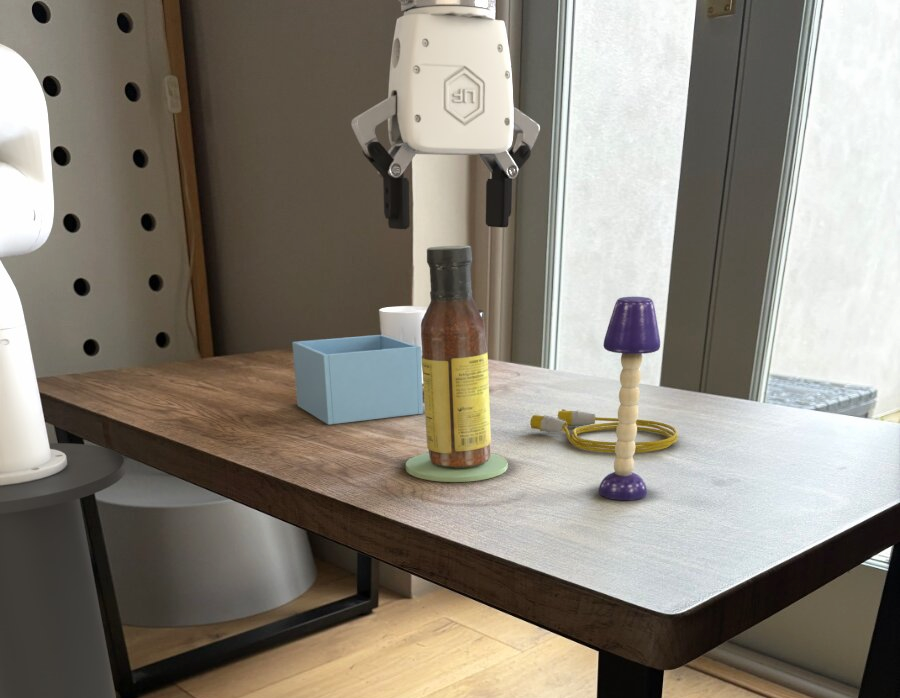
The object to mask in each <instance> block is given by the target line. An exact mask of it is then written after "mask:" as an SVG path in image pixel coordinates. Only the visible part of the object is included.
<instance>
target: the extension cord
mask: <svg viewBox="0 0 900 698" xmlns="http://www.w3.org/2000/svg"><path fill="white" fill-rule="evenodd" d="M596 421H599V422H601V421H602V422H603V421H604V422H603V423H602V422H601V423H596ZM618 423H619V420H618V417H617V418H616V417H596V413H592V412H587V411H581V410H566V409H561V410H558V412H557V417H555V416H552V415H540V414H534V415H532V416H531V417H530V429H532V430H539V431H540V432H544V433H564V432H565V435H566V437H567V439H568V441H569V443H570V444H571V445H573V446H574V447H576V448H578V449H581V450H585V451H592V452H597V453H610V454H611V453H612V454H613V453H614V454H616V453H615V445H616V442H617V441H616V442H615V441H601V440H600V441H599V440H591V439H585V438H581V437H579V436H578V435H580V434H583V433H590V432H597V431H604V430H616V429H617V425H618ZM635 423H636V425H637V431H643V432H644V431H645V432H652V433H656V434H660V435H664V436H665V437H666V438H665V439H659V440H651V441H635V453H646V452H647V453H648V452H656V451H660V450H664V449H667V448H668V447H670V446H671V445H673V444H675V443H676V442H677V441H678V439H679V438H678V437H679V436H678V435H679V433H678V432H679V431H678V429H676V428H675V427H674V426H672V425H670V424H667V423H664V422H659V421H654V420H646V419H637V420H636V422H635ZM568 427H574V428H573V429H572V432H571V434H570V432H569V429H568Z"/></svg>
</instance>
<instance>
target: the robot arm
mask: <svg viewBox="0 0 900 698" xmlns="http://www.w3.org/2000/svg"><path fill="white" fill-rule="evenodd" d="M397 1H398V2H400V11H401V12H403V15H401V16H400V17H397V18H396V23H395V28H394V34H393V40H392V47H391V55H390V63H389V77H388V93H387V95H388V96H387V98H385V99H384V100H382V101H380V102H379V103H376V104H375V105H373V106H372V107H370V108H368V109H367V110H365V111H364V112H362V113H359V114H358V115H357V116H355V117H353V118H352V120H351V123H350V125H351V128H352V131H353V133H354V135H355V137H356V140H357V141H358V143H359V145H360V146H361V149H362V155H364V157H365V158H366V159H367V161H369V163H370V164H371V165H372V166H373V167H374V168H375V170H376V172H377V174H378V177H380V178H381V179H382V182H383V183H382V184H383V186H382V187H383V214H384V217H385V219H386V220H388V221H387V222H388V223H387V224H388V228H389V229H396V230H407V229H408V228H410V225H411V224H410V223H411V222H410V181H409V179H408V177H405V175H404V172H405V171H406V169H407V167H408V166H409V165H410V163H411V162H412V160H413V159H414V157H415V156H416V155H435V156H436V155H438V156H439V155H440V156H442V155H443V156H476V155H477V156H478V155H479V157H480V158H481V160H482V162H483V163H484V164H485V166H486V167H487V169H488V170H489V172H490V173H491V178H487V179H486V183H485V225H486V226H487V227H489V228H508V227H509V222H510V217H511V215H512V203H513V202H512V201H513V179H515V178H517V177H518V174H519V171H520V169H521V168H522V167H523V166H524V165H525V164H526V162H527V161H528V160H529V159H530V157H531V153H532V152H531V150H532V149H533V148H534V145H535V143H536V141H537V139H538V136H539V134H540V132H541V126H540V124H539V123H538V122H537V121H535V120H534V119H532V118H531V117H530V116H528V115H527V114H525V113H524V112H523V111H521V110H520V109H519V108H517V107H516V106H515V105H514V98H513V97H514V95H513V94H514V93H513V75H512V67H511V66H512V63H511V55H510V47H509V41H508V33H507V28H506V25H505V24H506V23H505V21H504V20H501V19H500V20H499V19H496V0H397ZM385 121H387V132H388V133H387V134H388V140H389V144H390V146H391V147H390V148H389V150H386V148H385V147H384V146H383V145H382V144H381V142H379V139H378V136H377V133H376V128H377V127H378V126H379V125H381V124H382V123H384V122H385ZM49 124H50V123H49V115H48V106H47V102H46V98H45V94H44V91H43V88H42V86H41V84H40V81H39V79H38V77H37V75H36V73H35V71H34V70H33V69H32V67H31V66H30V64H29V63H28V62H27V61H26V60H25V58H23V57H22V56H21V55H20V54H19V53H18V52H17V51H15V50H14V49H12V48H11V47H9V46H7V45H4V44H2V43H0V258H8V257H15V256H22V255H27V254H30V253H33V252H35V251H36V250H38V249H39V248H41V247H42V246H43V245H44V244H45V243H46V241H47V240H48V238H49V236H50V234H51V232H52V228H53V224H54V218H55V217H54V215H55V198H54V197H55V196H54V185H53V184H54V181H53V168H52V167H53V166H52V154H51V139H50V138H51V137H50V125H49ZM514 131H515V132H516V139H515V143H514V146H512V144H513V138H514ZM23 310H24V309H23V306H22V302H21V299H20V296H19V292H18V290H17V288H16V286H15V284H14V282H13V280H12V279H11V276H10V275H9V273H8V271H7V269H6V268H5V266H4V264H3V262H2V260H0V486H5V485H12V484H19V483H25V482H30V481H34V480H39V479H42V478H45V477H49V476H51V475H54V474H56V473H58V472H60V471H62V470H63V469H65V468H66V466H67V465H68V464H67V457H66V455H65V454H64V453H63V452H61V451H58V450H54V449H50V447H49V443H50V441H49V437H48V431H47V427H46V426H47V425H46V422H45V417H44V411H43V410H44V409H43V405H42V399H41V395H40V391H39V385H38V380H37V374H36V369H35V364H34V359H33V354H32V349H31V344H30V338H29V334H28V333H29V332H28V328H27V323H26V319H25V315H24V314H25V313H24V311H23Z"/></svg>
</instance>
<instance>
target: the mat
mask: <svg viewBox="0 0 900 698" xmlns="http://www.w3.org/2000/svg"><path fill="white" fill-rule="evenodd" d="M508 466H509V463H508V461H507V459H506V458H505V457H504V456H501V455H499V454H496V453H492V452H490V458H489V460H488V461H487V462H486V463H484V464H483V465H479V466H477V467H470V468H457V469H453V468H448V467H439V466H436V465H434V464H433V463H432V462H431V459H430V455H429V452H425V453H421V454H418V455H415V456H413V457H411V458H409V459H408V460H406V462H405V471H406V473H408V474H409V475H410V476H412V477H414V478H417V479H422V480H425V481H432V482H442V483H467V482H477V481H483V480H488V479H489V480H490V479H493V478H495V477H496V478H497V477H499V476H501V475H503V474H504V473H505V472H506V471H508Z"/></svg>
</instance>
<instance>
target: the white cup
mask: <svg viewBox="0 0 900 698" xmlns="http://www.w3.org/2000/svg"><path fill="white" fill-rule="evenodd" d="M428 307H429V306H425V305H400V306H388V307H382V308H380V309H378V318H379V330H380V335H385V336H389V337H392V338H395V339H398V340H401V341H404V342H407V343H410V344H414V345H417V346H420V347H421V366H422V340H421V322H422V319H423V317H424V315H425V313H426V311H427V309H428ZM422 385H423V372H422Z"/></svg>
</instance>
